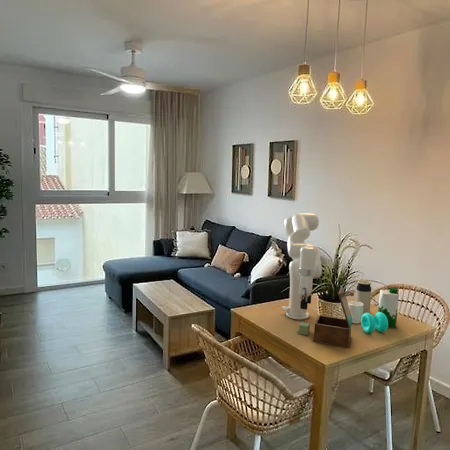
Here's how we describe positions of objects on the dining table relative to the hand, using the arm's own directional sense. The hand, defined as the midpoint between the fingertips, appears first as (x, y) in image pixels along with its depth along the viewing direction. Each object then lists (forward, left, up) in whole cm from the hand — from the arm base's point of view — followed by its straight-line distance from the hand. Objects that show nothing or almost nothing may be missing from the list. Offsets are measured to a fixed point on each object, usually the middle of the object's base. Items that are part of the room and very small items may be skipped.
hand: (305, 306), depth 191 cm
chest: (+14, -2, -14) cm, 20 cm away
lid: (+18, -2, +3) cm, 19 cm away
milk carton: (+38, +29, -14) cm, 50 cm away
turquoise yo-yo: (+32, +16, -14) cm, 38 cm away
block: (0, 0, -14) cm, 14 cm away
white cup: (+22, +27, -14) cm, 38 cm away
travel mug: (+25, +44, -14) cm, 53 cm away
